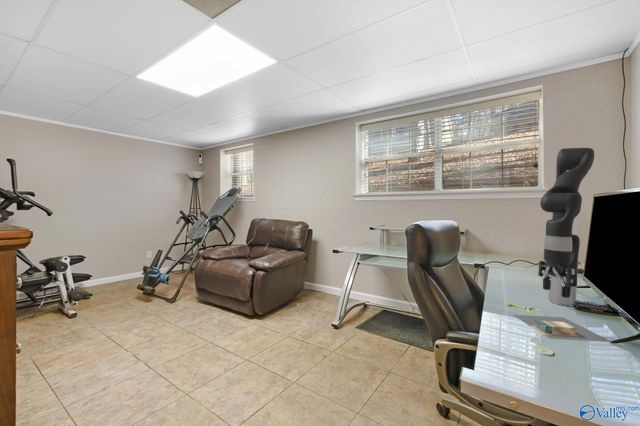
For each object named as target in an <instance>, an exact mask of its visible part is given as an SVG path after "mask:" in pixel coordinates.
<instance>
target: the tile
mask: <svg viewBox="0 0 640 426" xmlns="http://www.w3.org/2000/svg"><path fill="white" fill-rule="evenodd" d="M535 327H536V328H537V329H539V330H540V331H542V332H544V333H548V334H565V335H575V330H576V328H574V327H573V326H571V325H569V324H567V323H565V322H556V321H540V320H535Z"/></svg>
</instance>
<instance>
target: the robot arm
mask: <svg viewBox="0 0 640 426" xmlns="http://www.w3.org/2000/svg"><path fill="white" fill-rule="evenodd" d="M556 156H557V157H556V172H555V173H556V175H555V182H554V184H553V186H552V187H551V188H550V189H549V190H548V191H546V193H544V194H543V196H542V197H541V200H540V203H539V204H540V208H541V209H542V210H543V211H544V212H546V213H552V219H548V220H547V221H546V223H545V237H544V245H543V260H540V261H539V262H538V275H537V276H539V277H541V279H542V289H543V290H545V291H548V300H549V302H550V303H553V304H556V305H560V306H564V307H565V306H566V307H572V306H571V305H572V304H573V303H574V302H576V303H577V293H578V292H577V289H578V267H579V266H578V265H579V254H580V244H581V243H580V242H581V241H580V240H581V239H580V237H579V235H578V234H573V225H574V220H575V219H576V217H578V215H579V214H580V212H581V208H582V203H583V202H582V201H583V198H582V195H581V193H580V192H579V188H580V185H581V183H582V181H583V180H584V178H585V177H586V176H587V174H588V173H589V172H590V170H591V168H592V166H593V164H594V160H595V150H594V148H591V147H569V148H560V149H559V151H558V153H557V155H556Z"/></svg>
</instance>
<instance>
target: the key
mask: <svg viewBox="0 0 640 426" xmlns="http://www.w3.org/2000/svg"><path fill="white" fill-rule="evenodd" d="M506 305H507V306H512V307H515V308H520V309H523V310H526V311H527V312H529V313H532V314H539V312H541V310H540V309H539V308H536V307H533V306H532V307H527V306H525V305H524V306H522V305H519V304H516V303H513V302H511V301H508V302H507V303H506ZM531 309H532V310H537V311H539V312H535V311H532V310H531Z"/></svg>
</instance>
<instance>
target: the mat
mask: <svg viewBox="0 0 640 426" xmlns="http://www.w3.org/2000/svg"><path fill="white" fill-rule="evenodd" d="M512 316H513V317H515V318H517V319H518V320H520V321H522V323H525V324H526V325H528V326H529V327H531V328H532V329H534V330H535V331H537V332H539V333H541V334H542V335H544V336H545V337H546V338H548V339H551V340H552V339H554V340H570V341H571V340H573V341H585V342H586V341H587V342H605V343H613V341H612V340H609V339H607V337H606V338H605V337H603V336H602V335H600V334H597V333H595V332H594V331H591V330H589V329H587V328H586V327H583V326H581V325H580V324H578V323H576V322H574V321H571V320H570V319H567V318H565V317H563V316H562V317H560V316H542V315H527V314H526V315H522V314H512ZM535 320H540V321H556V322H565V323H567V324H569V325H571V326H573V327H574V328H576V330H575V335H565V334H548V333H544V332H542V331H540V330H539V329H537V328H536V327H535Z"/></svg>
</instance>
